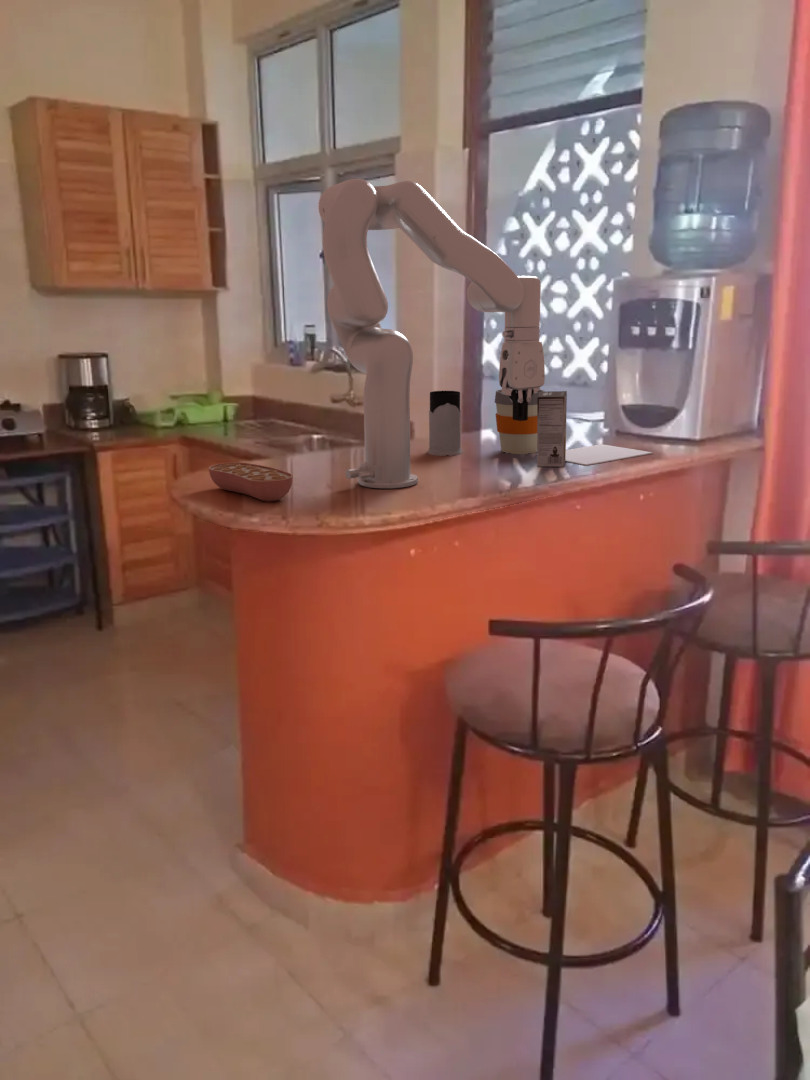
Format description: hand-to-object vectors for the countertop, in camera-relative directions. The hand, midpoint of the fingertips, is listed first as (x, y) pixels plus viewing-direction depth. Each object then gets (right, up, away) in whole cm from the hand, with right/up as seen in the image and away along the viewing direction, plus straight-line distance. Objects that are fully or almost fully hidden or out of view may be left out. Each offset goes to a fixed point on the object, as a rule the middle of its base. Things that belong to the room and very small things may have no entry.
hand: (520, 419), depth 194 cm
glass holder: (-16, -4, +28) cm, 32 cm away
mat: (+21, -6, +19) cm, 29 cm away
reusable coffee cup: (+3, -5, +26) cm, 26 cm away
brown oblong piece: (-56, -18, -18) cm, 62 cm away
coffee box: (+9, -9, +9) cm, 15 cm away
